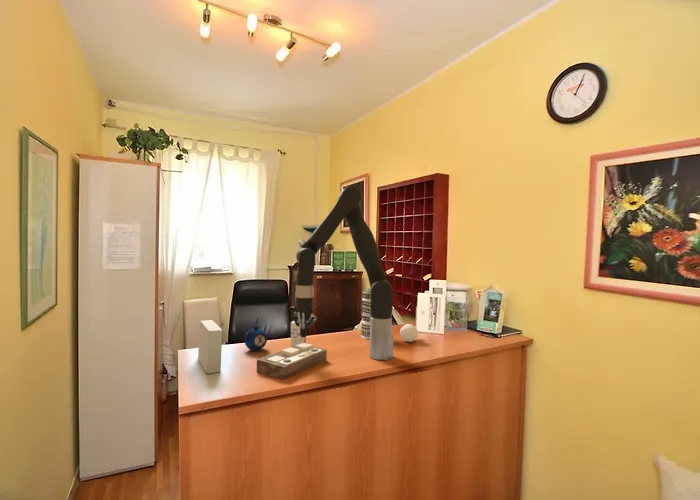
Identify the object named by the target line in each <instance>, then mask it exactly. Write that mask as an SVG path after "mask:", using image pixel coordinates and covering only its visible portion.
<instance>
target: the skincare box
mask: <svg viewBox="0 0 700 500" xmlns="http://www.w3.org/2000/svg"><path fill="white" fill-rule="evenodd" d="M222 345H223V329H222V328H221V327H220V326H219V325H218V324H217V323H216V322H215V321H214V320H212V319H209V320H208V319H205V320H199V335H198V352H197V353H198V354H197V359H198V360H199V362H200V364H201V366H202V368H203V369H204V372H205V373H206V374H209V375H210V374H216V373H220V372H221V371H222Z"/></svg>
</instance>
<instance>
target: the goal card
mask: <svg viewBox="0 0 700 500" xmlns="http://www.w3.org/2000/svg"><path fill="white" fill-rule="evenodd" d="M316 348H317V347H316ZM316 348H313V349H311V350H308V351H305V352H303V353H300V354H298V355H295V356H292V357H290V358H287V359H285V360H282V361H279V362H278V363H280V364H284V365H289V364H291V363H294V362H296V361H299V360H301V359H303V358H306V357H308V356H311V355H313V354H316V353H318V352H321V351H323V350H320V349H316Z"/></svg>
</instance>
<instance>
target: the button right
mask: <svg viewBox="0 0 700 500" xmlns="http://www.w3.org/2000/svg"><path fill="white" fill-rule="evenodd" d="M312 347H313V344H310V343H307V342H306V343H301V344H299V345H296V346H295V349H299V350H300V351H303V352H305V351H308V350H311V349H312Z"/></svg>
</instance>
